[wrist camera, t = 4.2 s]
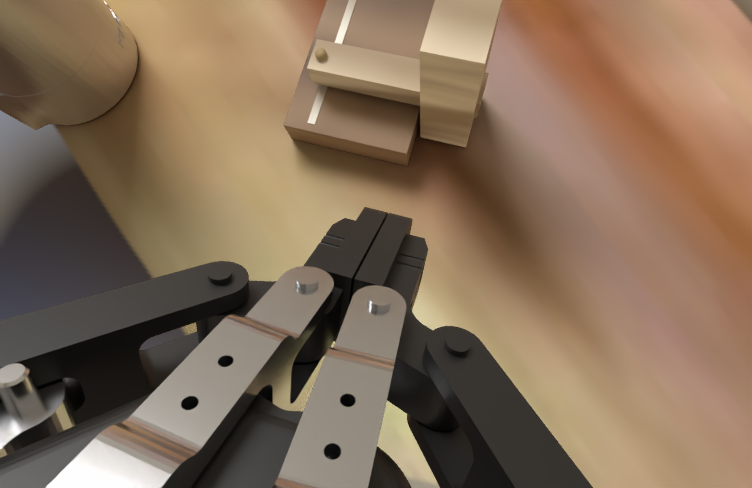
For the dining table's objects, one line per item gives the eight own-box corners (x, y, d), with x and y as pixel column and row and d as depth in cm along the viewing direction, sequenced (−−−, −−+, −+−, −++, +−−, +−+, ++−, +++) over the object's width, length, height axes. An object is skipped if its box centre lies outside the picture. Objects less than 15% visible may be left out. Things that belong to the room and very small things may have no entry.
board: (407, 166, 30) (406, 153, 28) (292, 139, 31) (283, 124, 29) (481, -88, 34) (485, -115, 32) (375, -104, 35) (372, -131, 33)
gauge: (469, 148, 29) (489, 64, 21) (315, 113, 31) (273, 22, 22) (484, 92, 30) (509, -12, 21) (333, 61, 32) (299, -48, 23)
